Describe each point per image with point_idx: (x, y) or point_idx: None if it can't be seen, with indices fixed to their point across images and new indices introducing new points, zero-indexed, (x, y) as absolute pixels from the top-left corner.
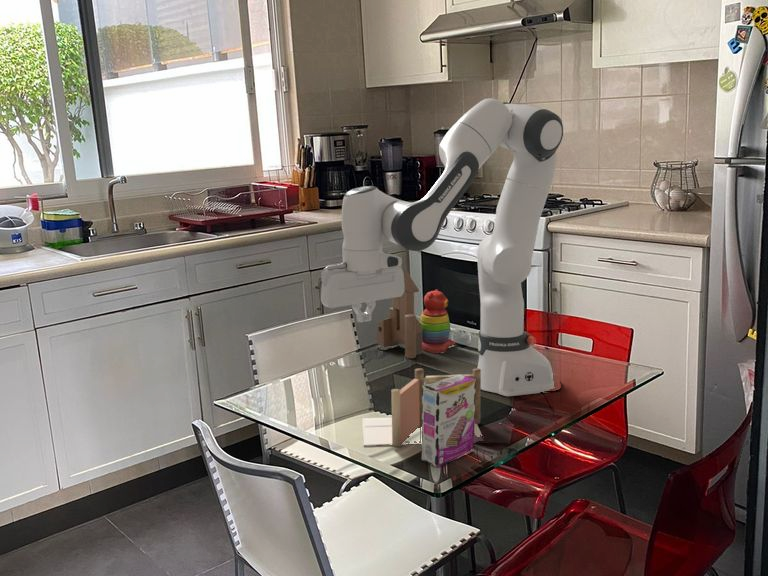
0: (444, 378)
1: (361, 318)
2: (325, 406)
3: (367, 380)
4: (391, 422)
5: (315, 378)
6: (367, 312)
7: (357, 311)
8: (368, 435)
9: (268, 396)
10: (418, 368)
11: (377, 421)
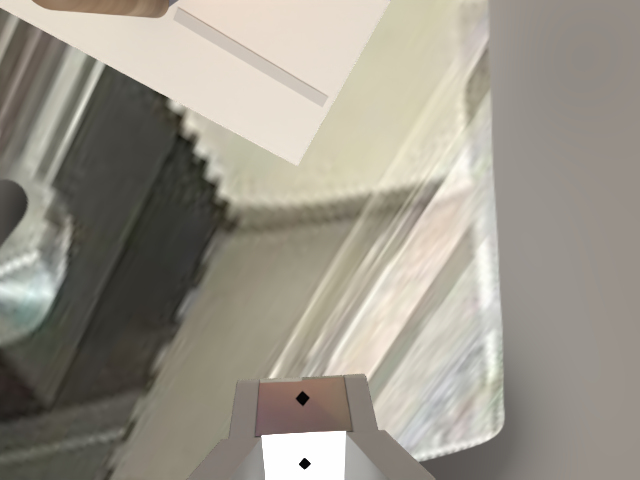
0: None
1: (359, 397)
2: (331, 303)
3: (140, 399)
4: (233, 81)
5: None
6: (260, 466)
7: (420, 477)
8: (355, 26)
9: (409, 416)
10: (43, 3)
11: (269, 116)
